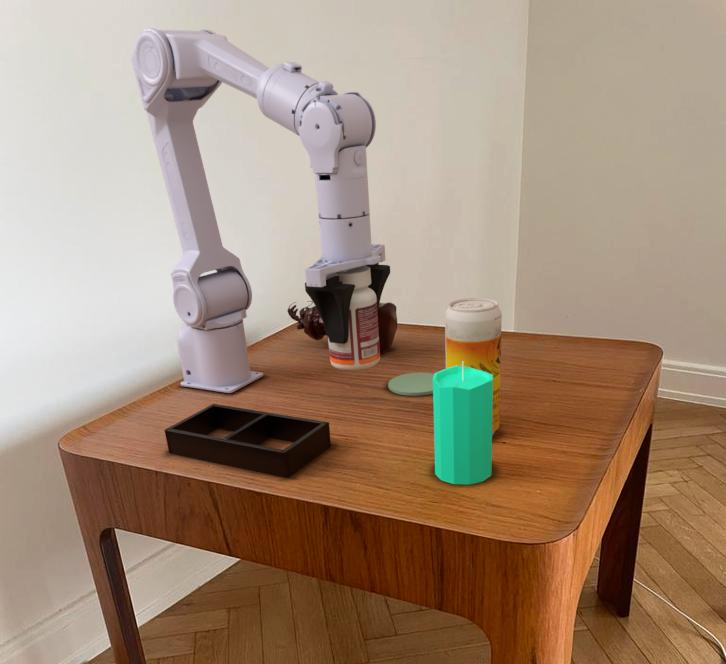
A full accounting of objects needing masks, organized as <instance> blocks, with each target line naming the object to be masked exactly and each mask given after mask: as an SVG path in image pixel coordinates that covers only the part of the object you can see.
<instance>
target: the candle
mask: <svg viewBox="0 0 726 664" xmlns="http://www.w3.org/2000/svg"><path fill="white" fill-rule="evenodd" d="M433 374H434V377H433V394H432V397H433V398H432V402H433V403H432V405H433V441H434V442H433V445H434V447H433V448H434V475H435V476H436V477H437V478H438V479H439V480H440V481H442V482H446V483H449V484H452V485H474V484H478V483H482V482H484V481H486V480H488V478H490V477H491V476H492V470H493V468H492V467H493V435H492V411H493V375H492V374H490V373H487V372H485V371H481V370H478V369H475V368H470V367H464V361H462V366H454V367H450V368H447V369H446V368H444V369H441V370H439V371H437V372H434V373H433Z"/></svg>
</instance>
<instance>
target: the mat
mask: <svg viewBox="0 0 726 664" xmlns="http://www.w3.org/2000/svg"><path fill="white" fill-rule="evenodd" d="M433 377H434V373H431V372H409V373H405V374H400V375H397V376H395V377H393V378H391V379H390V380H389V381H388V383H387V387H388V390H389V391H390V392H392V393H394V394H395V395H401V396H407V397H420V396H421V397H422V396H428V395H433Z"/></svg>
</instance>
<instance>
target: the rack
mask: <svg viewBox="0 0 726 664" xmlns="http://www.w3.org/2000/svg"><path fill="white" fill-rule="evenodd" d="M217 429H221V430H227V431H232V432H231V433H230V434H228V435H226V436H224V437H223V438H222V437H217V436H212V435H208V434H210V433H212V432H213V431H215V430H217ZM164 434H165V439H166V445H167V450H168V454H171V455H177V456H182V457H185V458H191V459H195V460H200V461H205V462H210V463H215V464H220V465H224V466H228V467H234V468H239V469H243V470H248V471H252V472H256V473H257V472H258V473H263V474H268V475H272V476H277V477H281V478H286V479H289V478H290V477H292V476H293V475H294V474H296V473H297V472H298V471H299V470H301V469H302V468H304V467H305V466H307V464H309V463H310V462H311V461H313V460H314V459H316V458H318V457H319V456H320V455H321V454H322V453H324V452H326V450H328V449H329V448H331V446H332V442H331V431H330V422H329V421H322V420H318V419H317V420H316V419H312V418H311V419H310V418H304V417H298V416H292V415H287V414H279V413H274V412H267V411H262V410H255V409H248V408H243V407H237V406H230V405H224V404H218V403H212V404H209V405H208V406H206V407H204V408H203V409H201V410H199V411H197V412H194V413H193V414H192V415H189V416H188V417H186V418H184V419H182V420H180V421H178V422H176V423H174V424H173V425H171V426H169V427H167V428H165V429H164ZM269 439H277V440H283V441H288V442H293V443H292V444H289V445H288V446H287V447H285V448H284V449H281V448H276V447H270V446H264V445H262V444H263V443H264V442H266V441H268V440H269Z"/></svg>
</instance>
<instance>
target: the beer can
mask: <svg viewBox="0 0 726 664" xmlns="http://www.w3.org/2000/svg"><path fill="white" fill-rule="evenodd" d="M502 315H503V314H502V310H501V309H500V306H499V303H498V301H497V300H495V299H492V298H486V297H485V298H484V297H468V298H460V299H457V300H453V301H451V302H449V303H448V307H447V309H446V312H445V314H444V341H445V342H444V343H445V344H444V346H445V369H447V368H450V367H454V366H462V361H464V367H470V368H475V369H478V370H481V371H485V372H487V373H490V374H492V375H493V411H492V436H493V435H494V434H495V433H496V431H497V430H498V429H499V428H500V416H501V415H500V414H501V413H500V411H501V365H502V364H501V363H502V319H503V317H502Z"/></svg>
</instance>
